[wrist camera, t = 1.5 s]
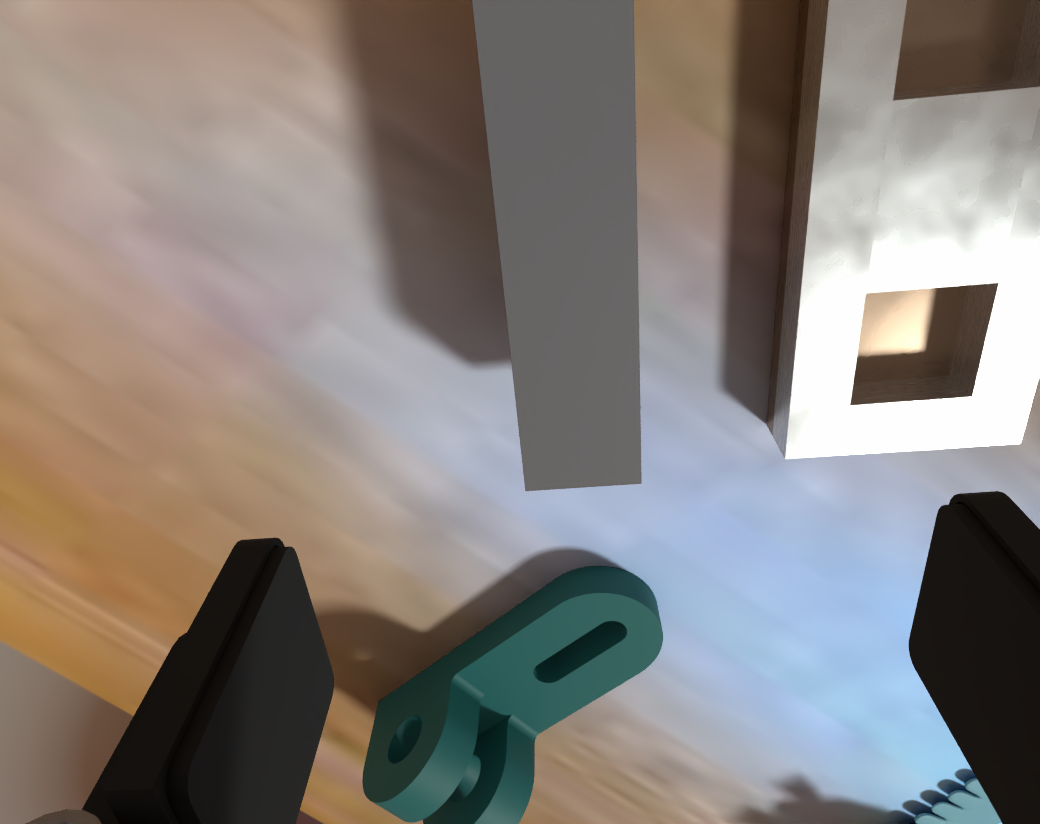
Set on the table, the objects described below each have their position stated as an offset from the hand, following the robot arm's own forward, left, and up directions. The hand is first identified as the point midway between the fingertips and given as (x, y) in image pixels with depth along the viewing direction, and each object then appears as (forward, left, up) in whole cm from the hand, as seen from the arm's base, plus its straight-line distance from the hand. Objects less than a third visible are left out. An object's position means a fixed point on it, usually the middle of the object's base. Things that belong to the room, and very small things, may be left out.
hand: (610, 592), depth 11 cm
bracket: (+4, +26, -23) cm, 35 cm away
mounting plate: (-14, 0, -22) cm, 26 cm away
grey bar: (0, 0, -22) cm, 22 cm away
